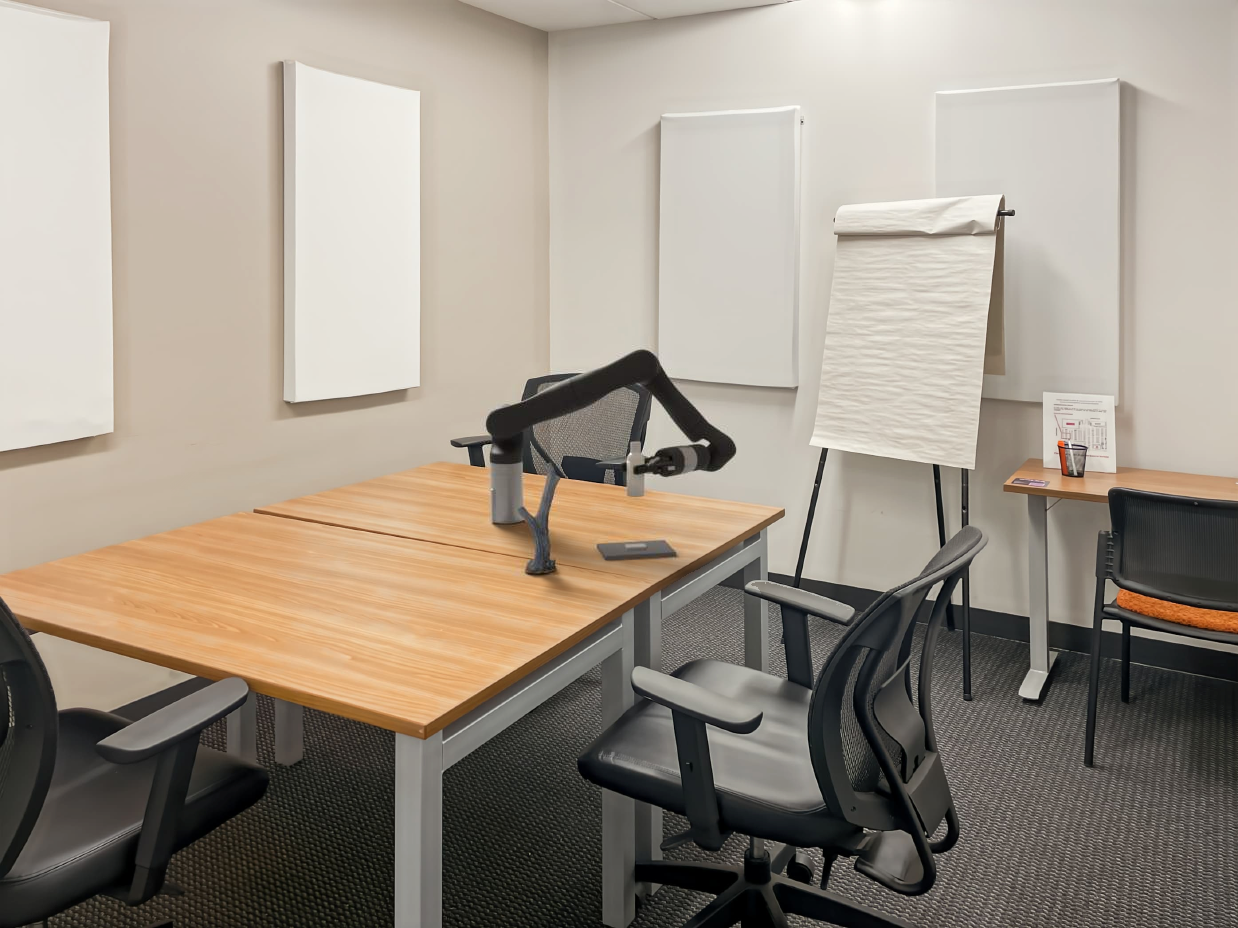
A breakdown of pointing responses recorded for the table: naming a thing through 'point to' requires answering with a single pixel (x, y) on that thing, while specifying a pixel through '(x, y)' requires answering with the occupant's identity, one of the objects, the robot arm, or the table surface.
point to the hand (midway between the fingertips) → (627, 469)
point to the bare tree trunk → (542, 526)
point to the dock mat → (635, 549)
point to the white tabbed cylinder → (633, 481)
